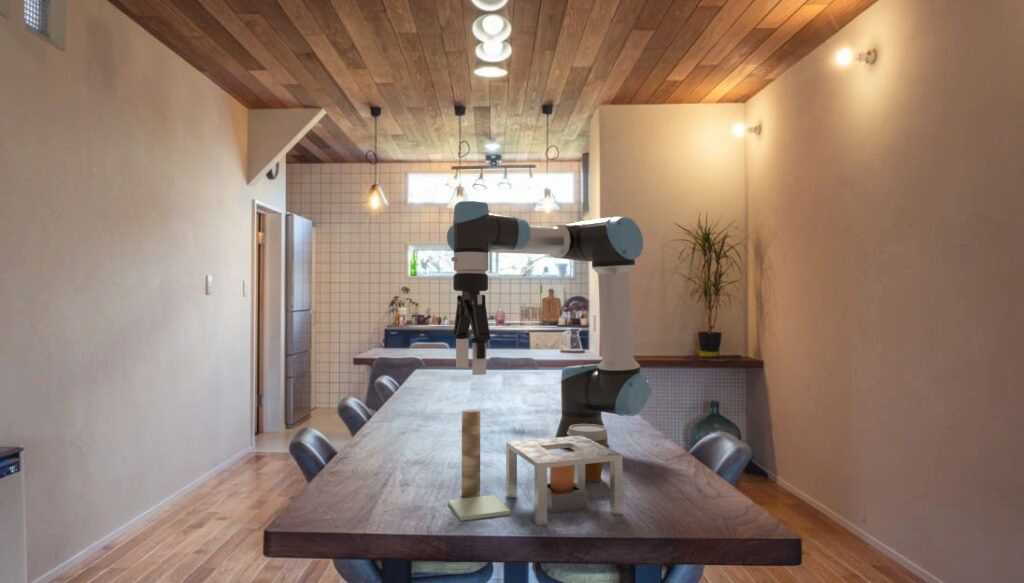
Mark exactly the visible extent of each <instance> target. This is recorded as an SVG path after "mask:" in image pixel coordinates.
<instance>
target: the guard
mask: <svg viewBox="0 0 1024 583" xmlns="http://www.w3.org/2000/svg"><path fill="white" fill-rule="evenodd" d="M505 444H506V445H505V452H506V453H505V454H506V455H505V456H506V457H505V458H506V460H505V463H506V464H505V475H506V476H505V480H506V481H505V486H506V487H505V488H506V489H505V493H506V494H505V496H506V497H507V498H508V499H512V498H517V497H518V456H519V457H521V458H522V459H523V460H525V461H527V463H529V464H531V465H532V466H534V523H535V524H536V525H537V526H541V525H542V526H543V525H547V524H548V511H549V512H550V513H551V514H555V513H562V512H570V511H577V510H579V511H580V510H586V509H589V490H588V489H586V482H585V464H589V463H599V462H603V463H607V462H609V512H610V513H611V514H612V515H616V516H617V515H623V513H624V512H623V511H624V507H623V506H624V505H623V504H624V501H623V496H624V493H623V491H624V486H623V485H624V484H623V479H624V478H623V477H624V476H623V475H624V472H623V471H624V469H623V468H624V467H623V465H624V464H623V463H624V462H623V461H624V460H623V457H624V455H623V454H621V453H619V452H618V451H616V450H613V449H612V448H609V447H607V446H606V447H605V446H603V445H601V444H598V443H596V442H594V441H592V440H590V439H588V438H586V437H584V436H582V435H581V436H569V437H557V438H556V437H547V438H535V439H526V440H525V439H524V440H513V441H506V443H505ZM569 448H572V449H573V450H574V452H571V451H568V452H566V451H565V452H556V453H553V452H551V451H550V450H558V449H569ZM570 465H574V490H573V491H565V492H557V493H556V492H553V491H552V490H551V489H550V481H548V468H549V469H550V467H560V466H570Z"/></svg>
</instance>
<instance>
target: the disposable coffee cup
mask: <svg viewBox="0 0 1024 583" xmlns="http://www.w3.org/2000/svg"><path fill="white" fill-rule="evenodd" d="M567 434H568V437H569V436H581V435H582V436H584V437H586V438H588V439H590V440H592V441H594V442H596V443H598V444H601V445H603V446H605V440H606V437H607V438H608V434H609V433H608V432H607V428H606V426H605V425H604V426H600V425H595V424H576V425H571V426H570V427H569V430H568V432H567ZM570 452H574V450H573V449H572V448H570ZM603 463H604V462H599V463H589V464H585V483H589V484H590V483H597V482H600V481H601V478H602V472H603V471H602V470H603Z"/></svg>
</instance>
